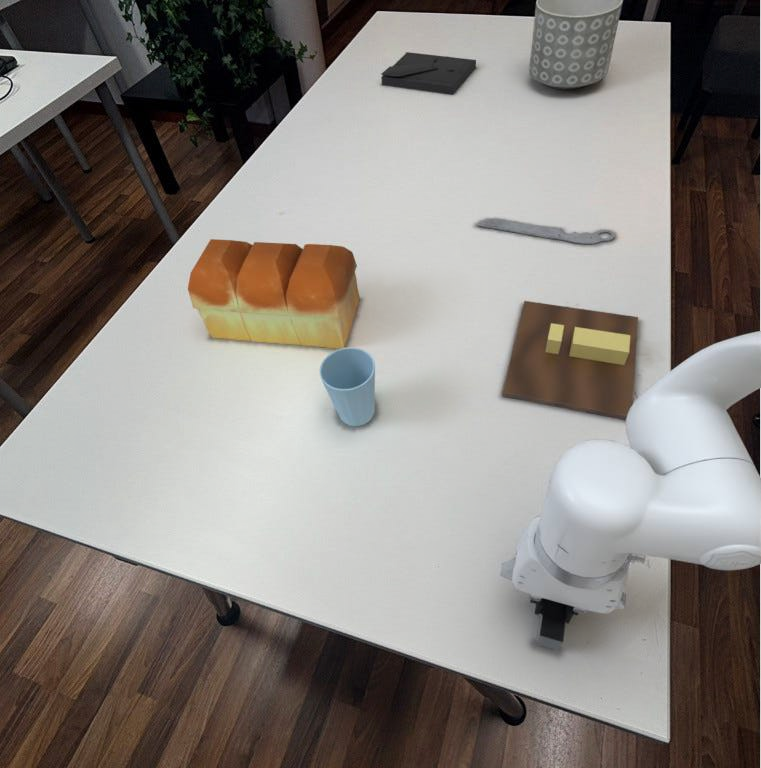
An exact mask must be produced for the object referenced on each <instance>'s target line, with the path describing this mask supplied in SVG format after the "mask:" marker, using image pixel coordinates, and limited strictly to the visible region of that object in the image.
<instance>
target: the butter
mask: <svg viewBox="0 0 761 768" xmlns="http://www.w3.org/2000/svg"><path fill="white" fill-rule="evenodd" d="M629 348H630V335H625V334H618V333H612V332H605V331H599V330H592V329H586V328H579V327H575V329H574V333H573V337H572V341H571V348H570V354H569V356H571V357H577V358H583V359H589V360H595V361H602V362H608V363H614V364H620V365H625V362H626V359H627V357H628V354H629Z"/></svg>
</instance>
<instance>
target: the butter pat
mask: <svg viewBox="0 0 761 768" xmlns="http://www.w3.org/2000/svg"><path fill="white" fill-rule="evenodd" d="M563 330H564V325H559V324H553V323H551V325H550V330H549V335H548V340H547V346H546V351H545V352H547V353H553V354H559V350H560V346H561V341H562V335H563Z"/></svg>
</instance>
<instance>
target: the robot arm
mask: <svg viewBox="0 0 761 768" xmlns="http://www.w3.org/2000/svg"><path fill="white" fill-rule="evenodd" d="M759 389H761V330H758V331H754V332H749V333H745V334H741V335H737V336H734V337H730V338H727V339H725V340H722V341H719V342H718V341H717V342H716V343H713V344H711V345H709V346H707V347H705V348H702V349H700V350H699V351H698V352H696V353H694V354H692V355H691V356H689V357H687V359H685V360H683V361H682V362H681V363H680V364H678V365H677V366H676V367H674V368H673V369H671V370H670V371H668V372H667V373H666V374H665V375H663V376H662V377H661V378H659V379H658V380H656V381H655V382H654V383H652V385H650V386H649V387H647V389H645V390H644V391H643V392H642V393H641V394H639V396H638V397H637V398H636V400H635V401H633V402H632V406H631V408H630V410H629V412H628V415H627V418H626V420H625V433H626V437H627V440H628V443H629V446H627V445H626V444H624V443H621V442H618V441H615V440H611V439H600V438H599V439H598V438H594V439H586V440H583V441H580V442H578V443H575V444H574V445H571V446H570V447H569V448H567V449H566V450H565V451H564V452H562V454H560V456H559V457H558V458H557V460H556V462H555V464H554V466H553V467H552V471H551V473H550V477H549V481H548V485H547V490H546V492H545V493H546V494H545V497H544V500H543V501H544V502H543V505H542V508H541V513H540V515H537V516H536V517H534V518H533V519H532V520H531V521H530V522H528V524H527V525H526V526H525V528H524V530H523V531H522V533H521V535H520V538H519V541H518V543H517V547H516V551H515V557H514V558H511V559H509V560H507V561H505V562H503V563H501V567H500V572H499V576H500V577H502V578H505V579H506V580H509V581H511V582H512V585H513V586H514V588H515V589H516V590H518V591H519V592H522V593H525V594H528V595H529V600H530V601H529V602H530V603H531V604H535V608H534V615H537V616H540V614H541V613H542V610H543V607H544V606H545V600H546V599H548V600H552V601H555V602H559V603H563V604H566V605H567V609H566V613H567V614H566V622H565V624H570V623H571V620H572V618H573V617H574V616H576V617H577V616H578V615H579V614H586V611H590V612H594V613H598V614H604V615H605V614H606V615H607V614H610V613H611V612H613V611H615V610H616V609H620V610H625V609H626V608H627V607H626V606H627V595H626V593H625V592H624V590H625V588H626V587H625V586H626V584H627V580H628V576H629V570H630V564H631V563H632V564H634V563H638V564H642V565H644V564H645V561H646V559H647V556H648V557H653V558H654V557H655V558H661V559H667V560H672V561H679V562H684V563H690V564H694V565H701V566H704V567H706V568H709V569H712V570H718V571H738V570H745V569H749V568H754V567H756V566H759V565H761V476H760V474H759V472H758V470H757V467H756V465H755V464H754V461H753V460H752V457H751V456H750V454H749V452H748V450H747V448H746V446H745V444H744V442H743V440H742V438H741V436H740V434H739V433H738V430H737V428H736V427H735V423H733V420H732V418H731V416H730V415H729V413H728V411H727V410H728V409H730V407H732V406H733V405H734V404H736V403H737V402H739V401H740V400H742V399H744V398H746V397H747V396H748V395H749V396H750V395H751V394H752V393H754V392H755V391H757V390H759Z"/></svg>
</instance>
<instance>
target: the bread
mask: <svg viewBox="0 0 761 768" xmlns="http://www.w3.org/2000/svg"><path fill="white" fill-rule="evenodd" d="M357 267H358V265H357V262H356V259H355V255H354V253H353V251H352V250H350V249H348V248H346V247H345V246H342V245H334V244H319V243H318V244H317V243H306V244H304V246H303V248H302V247H301V246H299V245H298V244H297V243H281V242H265V241H264V242H262V241H261V242H260V241H254V242H253V244H252V243H249V242H247V241H244V240H243V241H241V240H234V239H215V238H210V239H209V240H208V242H207V244H206V246H205V248H204V249H203V251H202V253H201V255H200V256H199V258H198V260H197V262H196V263H195V265H194V266H193V268H192V269H191V271H190V274H189V280H188V284H187V285H188V286H187V292H188V295H189V298H190V302H191V305H192V308H193V309H195V310H197V311H198V313H199V315H200V318H201V319H202V321H203V323H204V325H205V327H206V329H207V331H208V333H209V336H210V338H213V339H224V340H233V341H234V340H236V341H246V342H256V343H257V342H259V343H269V344H280V345H291V346H303V347H316V348H326V349H327V348H329V349H336V350H338V349H342V348H346V346H347V345H346V344H347V342H348V338H349V335H350V333H351V330H352V326H353V322H354V320H355V316H356V314H357V310H358V307H359V304H360V301H361V299H360V298H361V297H360V292H359V285H358V282H357V276H356V270H357Z"/></svg>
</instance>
